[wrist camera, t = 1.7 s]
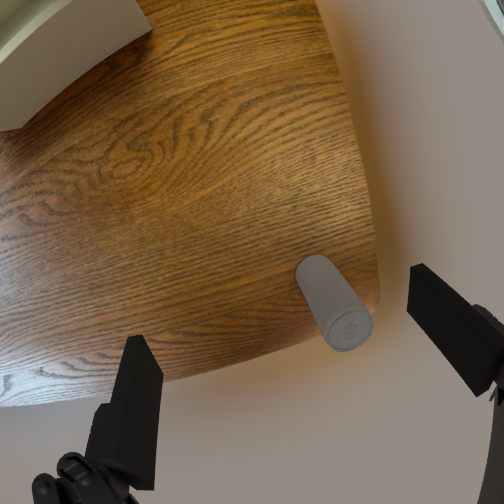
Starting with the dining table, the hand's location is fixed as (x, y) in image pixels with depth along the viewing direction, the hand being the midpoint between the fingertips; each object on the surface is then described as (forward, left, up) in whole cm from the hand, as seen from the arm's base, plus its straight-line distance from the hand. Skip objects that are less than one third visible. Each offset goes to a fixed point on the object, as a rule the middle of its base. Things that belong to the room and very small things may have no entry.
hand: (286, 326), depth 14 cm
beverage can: (-4, +11, -21) cm, 24 cm away
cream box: (+8, -29, -20) cm, 36 cm away
